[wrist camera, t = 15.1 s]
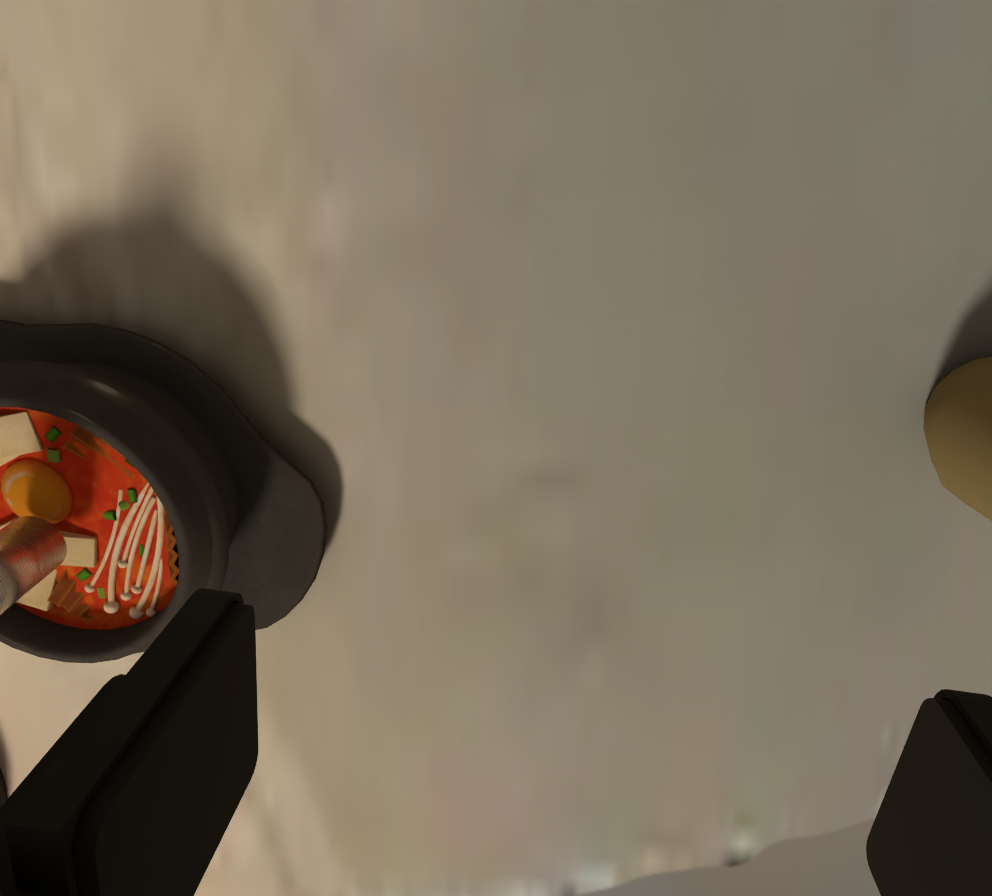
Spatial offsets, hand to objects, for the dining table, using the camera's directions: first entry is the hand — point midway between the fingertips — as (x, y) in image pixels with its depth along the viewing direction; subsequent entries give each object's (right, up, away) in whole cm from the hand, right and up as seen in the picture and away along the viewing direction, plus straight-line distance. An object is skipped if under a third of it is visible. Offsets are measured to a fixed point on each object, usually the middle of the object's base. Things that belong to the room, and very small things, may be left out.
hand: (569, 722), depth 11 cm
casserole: (-23, +3, +34) cm, 41 cm away
